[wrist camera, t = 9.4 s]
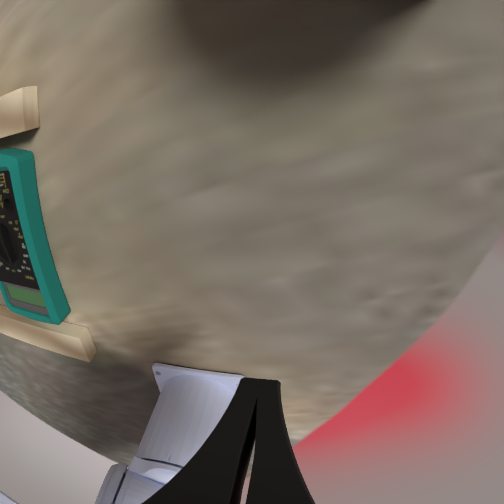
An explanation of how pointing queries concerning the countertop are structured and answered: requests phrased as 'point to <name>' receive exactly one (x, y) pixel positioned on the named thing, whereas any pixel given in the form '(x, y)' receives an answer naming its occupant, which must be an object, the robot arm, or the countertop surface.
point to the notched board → (3, 320)
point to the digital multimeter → (26, 244)
